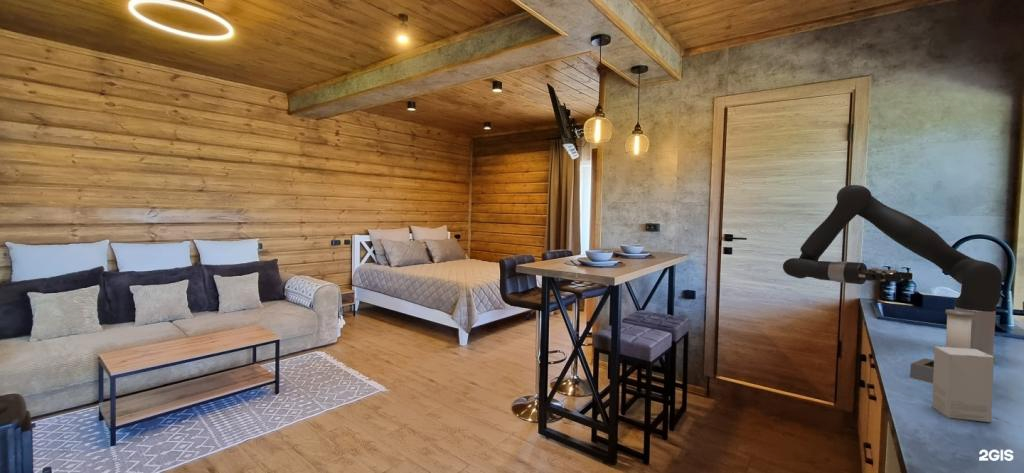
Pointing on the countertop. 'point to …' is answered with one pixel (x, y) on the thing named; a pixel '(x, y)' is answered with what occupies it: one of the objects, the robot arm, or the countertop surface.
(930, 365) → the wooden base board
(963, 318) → the plug
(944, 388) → the skincare box
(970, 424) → the countertop surface
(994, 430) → the countertop surface
